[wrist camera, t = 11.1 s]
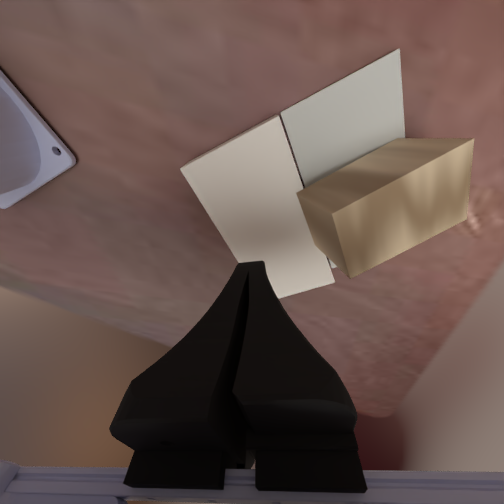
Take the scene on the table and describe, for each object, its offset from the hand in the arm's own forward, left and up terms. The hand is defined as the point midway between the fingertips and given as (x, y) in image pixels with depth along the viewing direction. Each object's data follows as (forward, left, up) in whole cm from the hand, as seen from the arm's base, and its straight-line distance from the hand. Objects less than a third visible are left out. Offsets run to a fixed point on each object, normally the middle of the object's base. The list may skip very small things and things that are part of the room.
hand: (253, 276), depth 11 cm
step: (0, +1, -6) cm, 6 cm away
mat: (0, +7, -6) cm, 9 cm away
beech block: (0, +4, -2) cm, 4 cm away
